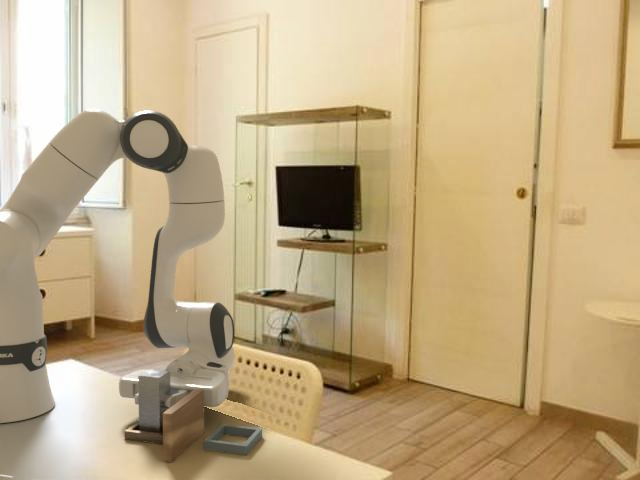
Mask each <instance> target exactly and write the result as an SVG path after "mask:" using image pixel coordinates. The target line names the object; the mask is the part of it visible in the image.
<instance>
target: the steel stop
mask: <svg viewBox="0 0 640 480" xmlns="http://www.w3.org/2000/svg"><path fill="white" fill-rule="evenodd" d="M148 369H149V370H147V371H145V372H144V373H142V374H140V375H138V388H139V404H138V421H139V431H145V432H153V433H161V434H162V433H163V413H164V412H165V411H166V410H168V409H169V408H165V407H163V398H164V397H166V396H167V395H170V371H167V370H166V369H165V370H164V369H156V368H148Z"/></svg>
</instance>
